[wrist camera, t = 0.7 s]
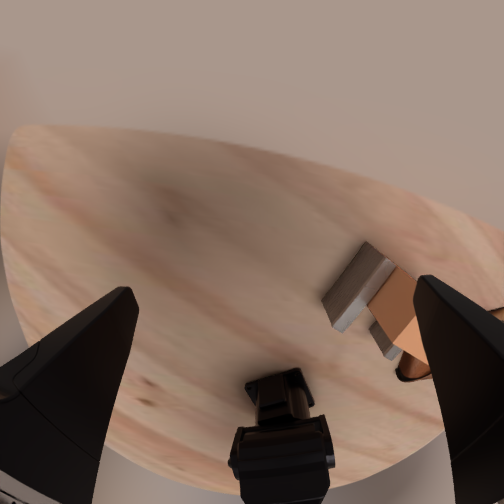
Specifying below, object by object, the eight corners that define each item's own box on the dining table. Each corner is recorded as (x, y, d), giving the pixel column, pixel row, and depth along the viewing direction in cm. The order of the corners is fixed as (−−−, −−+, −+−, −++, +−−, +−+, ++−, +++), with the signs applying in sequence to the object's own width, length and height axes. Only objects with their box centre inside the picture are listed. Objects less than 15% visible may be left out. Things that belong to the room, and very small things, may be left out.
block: (385, 307, 27) (430, 366, 18) (351, 283, 27) (392, 343, 17) (409, 275, 26) (464, 325, 17) (376, 249, 26) (431, 295, 16)
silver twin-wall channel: (375, 333, 28) (391, 360, 24) (320, 300, 27) (332, 327, 23) (416, 281, 27) (440, 302, 22) (365, 240, 26) (386, 257, 21)
